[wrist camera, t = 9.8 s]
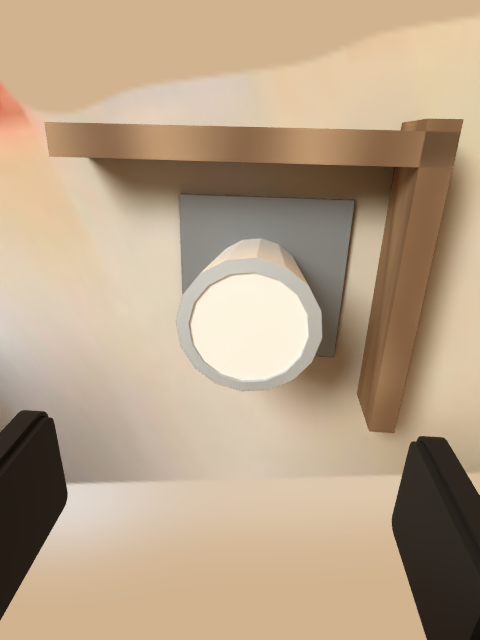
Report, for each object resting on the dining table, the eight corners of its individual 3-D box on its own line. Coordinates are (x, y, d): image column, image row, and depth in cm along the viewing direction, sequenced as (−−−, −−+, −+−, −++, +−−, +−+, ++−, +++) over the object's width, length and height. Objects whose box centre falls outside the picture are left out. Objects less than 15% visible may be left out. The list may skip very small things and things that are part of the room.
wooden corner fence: (111, 377, 29) (88, 411, 26) (80, 115, 23) (42, 110, 19) (379, 395, 28) (394, 433, 25) (431, 123, 21) (463, 119, 18)
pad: (185, 345, 28) (184, 348, 27) (180, 193, 24) (178, 194, 23) (333, 354, 27) (333, 357, 27) (353, 199, 23) (354, 200, 23)
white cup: (198, 326, 27) (173, 384, 20) (203, 221, 24) (177, 249, 18) (302, 339, 26) (310, 401, 20) (320, 234, 24) (336, 267, 17)
